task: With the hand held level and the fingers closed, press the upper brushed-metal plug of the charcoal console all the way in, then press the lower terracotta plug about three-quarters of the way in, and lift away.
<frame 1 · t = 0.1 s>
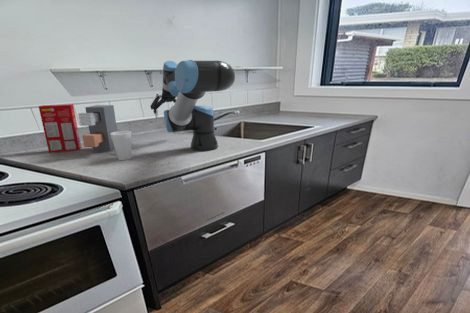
hand: (167, 116, 165), 15 cm above the worktop, tool tilted 35°, fingers open, 13 cm apart
terracotta plug: (96, 138, 141), point 8 cm above the worktop, slide at 0.0 cm
grey plug: (92, 117, 138), point 19 cm above the worktop, slide at 0.0 cm
food packaging: (65, 150, 150), on the worktop
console: (106, 149, 151), on the worktop
foam cup: (124, 158, 133), on the worktop
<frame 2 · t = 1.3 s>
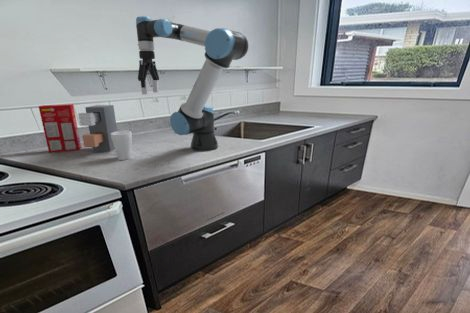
hand: (150, 93, 143), 30 cm above the worktop, tool pointing down, fingers open, 13 cm apart
nothing on the worktop moved.
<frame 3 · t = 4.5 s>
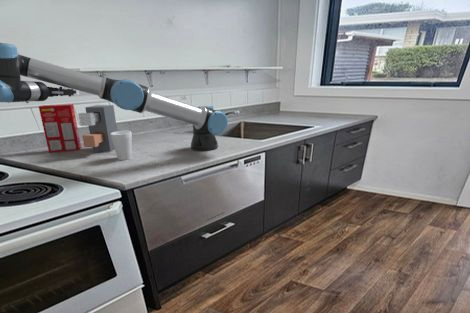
hand: (76, 91, 125), 33 cm above the worktop, tool horizontal, fingers closed
nothing on the worktop moved.
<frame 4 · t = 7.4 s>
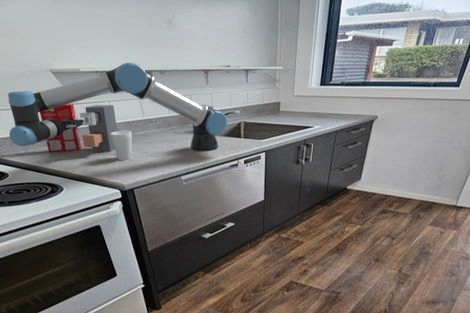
hand: (84, 119, 133), 19 cm above the worktop, tool horizontal, fingers closed
grey plug: (93, 117, 139), point 19 cm above the worktop, slide at 1.0 cm, touching gripper
everything else where it was.
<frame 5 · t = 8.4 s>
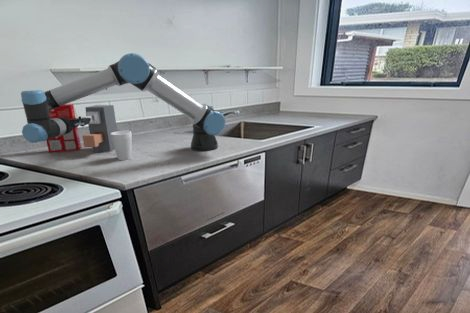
hand: (91, 118, 137), 19 cm above the worktop, tool horizontal, fingers closed
grey plug: (99, 116, 143), point 19 cm above the worktop, slide at 5.8 cm, touching gripper
everything else where it was.
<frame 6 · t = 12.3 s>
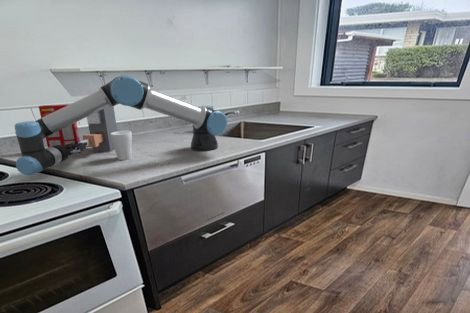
hand: (88, 142, 135), 8 cm above the worktop, tool horizontal, fingers closed
terracotta plug: (96, 138, 141), point 8 cm above the worktop, slide at 0.2 cm, touching gripper
grey plug: (99, 116, 144), point 19 cm above the worktop, slide at 6.1 cm
everything else where it was.
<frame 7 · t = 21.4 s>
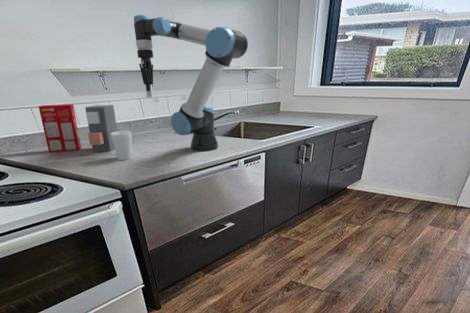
hand: (149, 97, 142), 28 cm above the worktop, tool pointing down, fingers closed
terracotta plug: (101, 136, 145), point 8 cm above the worktop, slide at 4.7 cm
everything else where it was.
at the end: grey plug slide at 6.1 cm; terracotta plug slide at 4.7 cm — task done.
